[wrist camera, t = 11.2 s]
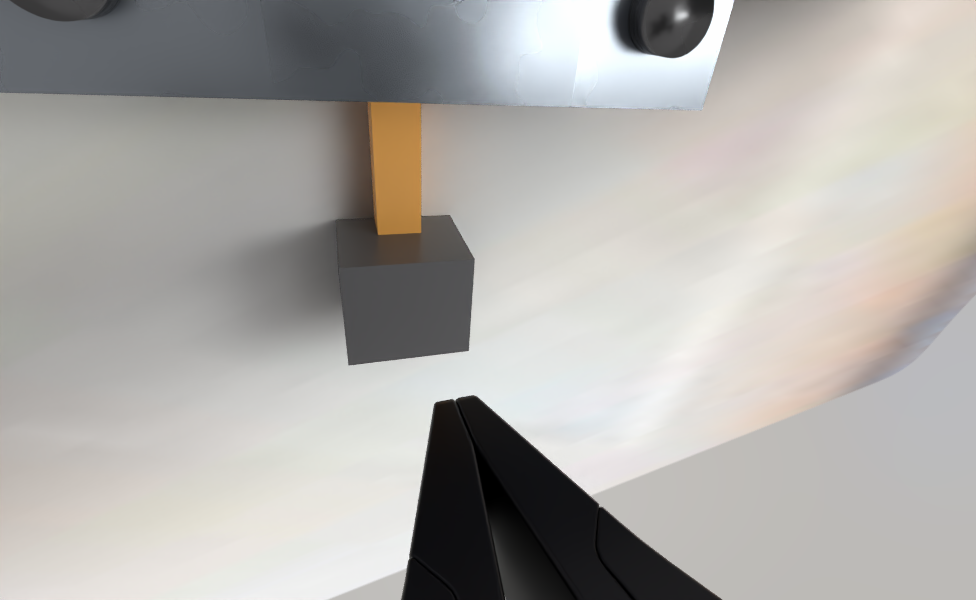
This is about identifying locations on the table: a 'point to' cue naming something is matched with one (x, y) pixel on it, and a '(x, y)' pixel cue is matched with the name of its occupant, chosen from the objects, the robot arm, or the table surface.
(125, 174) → the table surface
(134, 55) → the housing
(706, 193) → the table surface
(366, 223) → the grey-capped orange bar
